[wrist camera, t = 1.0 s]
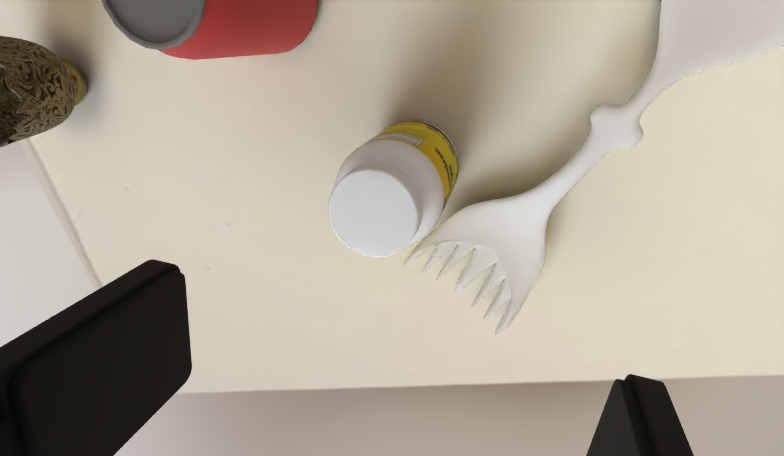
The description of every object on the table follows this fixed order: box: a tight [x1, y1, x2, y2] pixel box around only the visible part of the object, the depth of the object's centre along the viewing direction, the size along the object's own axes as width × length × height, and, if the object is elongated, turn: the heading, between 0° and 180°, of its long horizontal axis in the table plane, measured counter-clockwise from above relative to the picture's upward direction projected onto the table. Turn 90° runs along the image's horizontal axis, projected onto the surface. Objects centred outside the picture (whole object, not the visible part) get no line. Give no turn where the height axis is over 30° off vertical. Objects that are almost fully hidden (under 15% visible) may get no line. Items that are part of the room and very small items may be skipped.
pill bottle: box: [328, 120, 459, 257], centre depth 28 cm, size 6×6×11 cm
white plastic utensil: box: [404, 0, 784, 336], centre depth 27 cm, size 9×32×4 cm, turn 145°
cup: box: [0, 36, 87, 147], centre depth 34 cm, size 8×7×8 cm
